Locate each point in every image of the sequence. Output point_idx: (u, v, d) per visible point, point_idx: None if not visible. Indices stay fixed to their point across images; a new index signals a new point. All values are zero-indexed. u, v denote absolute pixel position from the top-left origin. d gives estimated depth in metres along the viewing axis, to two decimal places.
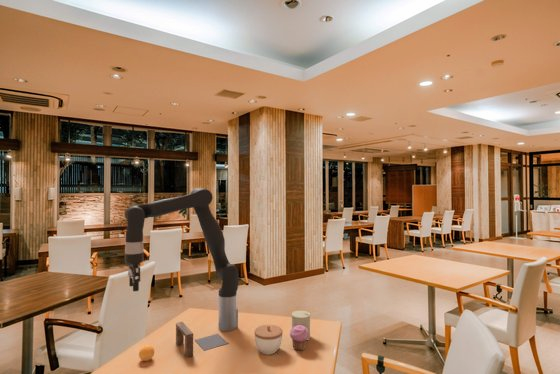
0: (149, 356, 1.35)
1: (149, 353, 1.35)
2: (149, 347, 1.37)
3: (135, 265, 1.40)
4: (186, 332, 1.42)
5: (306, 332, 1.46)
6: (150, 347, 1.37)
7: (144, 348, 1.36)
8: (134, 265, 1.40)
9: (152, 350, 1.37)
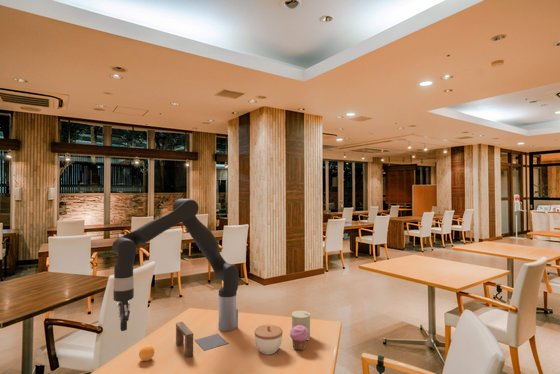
0: (149, 356, 1.35)
1: (149, 353, 1.35)
2: (149, 347, 1.37)
3: (124, 303, 1.29)
4: (186, 332, 1.42)
5: (306, 332, 1.46)
6: (150, 347, 1.37)
7: (144, 348, 1.36)
8: (123, 303, 1.29)
9: (152, 350, 1.37)
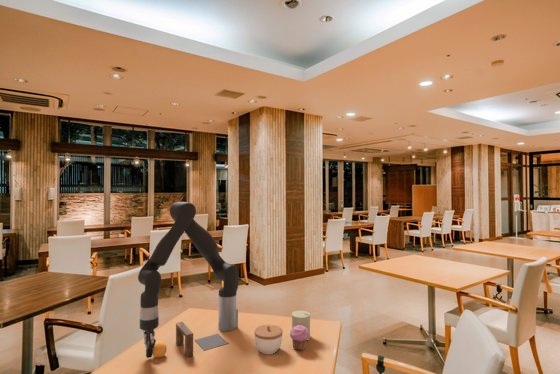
0: (160, 354, 1.38)
1: (163, 353, 1.38)
2: (166, 349, 1.41)
3: (150, 331, 1.35)
4: (186, 332, 1.42)
5: (306, 332, 1.46)
6: None
7: (165, 345, 1.41)
8: (149, 331, 1.35)
9: None
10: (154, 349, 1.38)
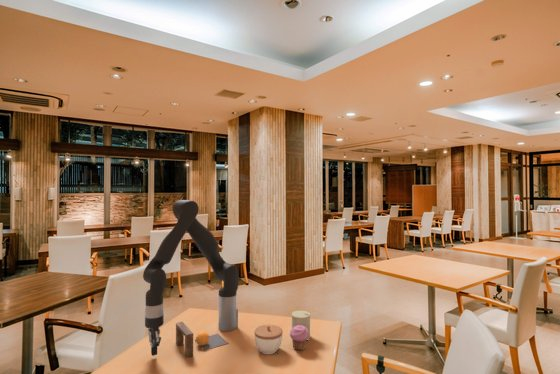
0: (204, 342, 1.48)
1: (206, 341, 1.49)
2: (208, 339, 1.51)
3: (156, 329, 1.36)
4: (186, 332, 1.42)
5: (306, 332, 1.46)
6: (208, 340, 1.51)
7: (208, 335, 1.51)
8: (155, 329, 1.36)
9: (206, 343, 1.50)
10: (199, 337, 1.48)
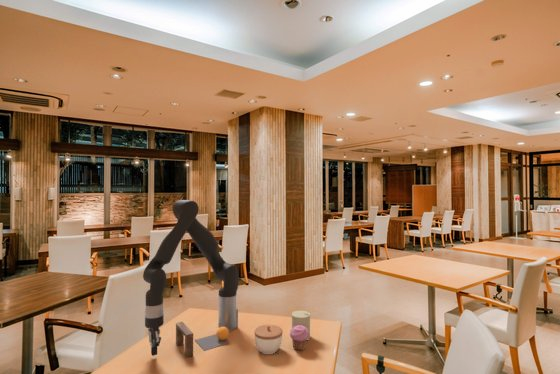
0: (225, 334, 1.54)
1: (223, 334, 1.53)
2: (218, 332, 1.54)
3: (156, 329, 1.36)
4: (186, 332, 1.42)
5: (306, 332, 1.46)
6: (219, 331, 1.54)
7: (218, 336, 1.54)
8: (155, 329, 1.36)
9: (222, 330, 1.54)
10: (227, 337, 1.56)
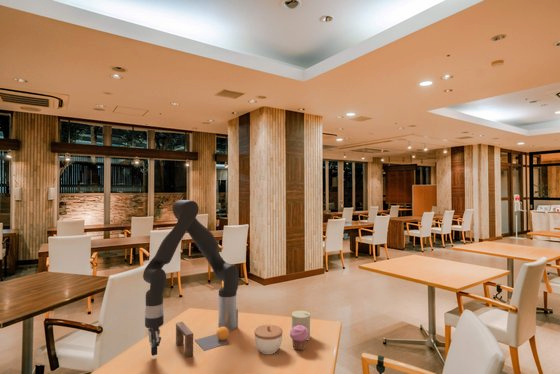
0: (225, 334, 1.54)
1: (223, 334, 1.53)
2: (218, 332, 1.54)
3: (156, 329, 1.36)
4: (186, 332, 1.42)
5: (306, 332, 1.46)
6: (219, 331, 1.54)
7: (218, 336, 1.54)
8: (155, 329, 1.36)
9: (222, 330, 1.54)
10: (227, 337, 1.56)
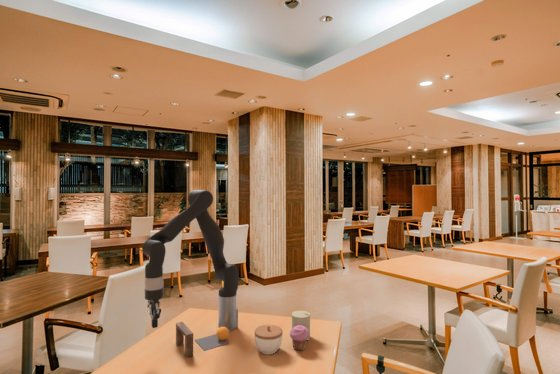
0: (225, 334, 1.54)
1: (223, 334, 1.53)
2: (218, 332, 1.54)
3: (156, 301, 1.36)
4: (186, 332, 1.42)
5: (306, 332, 1.46)
6: (219, 331, 1.54)
7: (218, 336, 1.54)
8: (155, 301, 1.36)
9: (222, 330, 1.54)
10: (227, 337, 1.56)
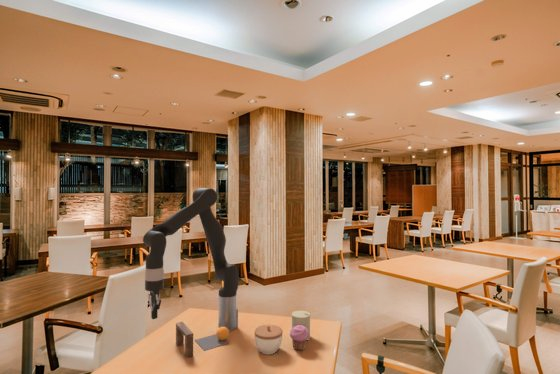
0: (225, 334, 1.54)
1: (223, 334, 1.53)
2: (218, 332, 1.54)
3: (156, 292, 1.36)
4: (186, 332, 1.42)
5: (306, 332, 1.46)
6: (219, 331, 1.54)
7: (218, 336, 1.54)
8: (155, 292, 1.36)
9: (222, 330, 1.54)
10: (227, 337, 1.56)
